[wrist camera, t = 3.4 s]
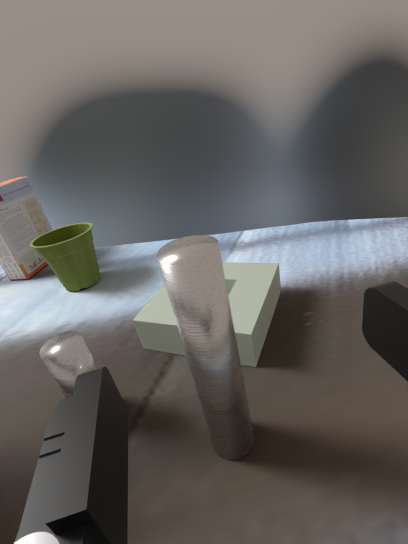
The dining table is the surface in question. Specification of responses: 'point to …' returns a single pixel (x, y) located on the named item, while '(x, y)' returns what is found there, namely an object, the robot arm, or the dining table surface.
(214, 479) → the dining table surface
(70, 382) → the short steel pin
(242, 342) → the hole block
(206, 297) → the long steel pin
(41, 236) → the plant pot
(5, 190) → the cracker box
